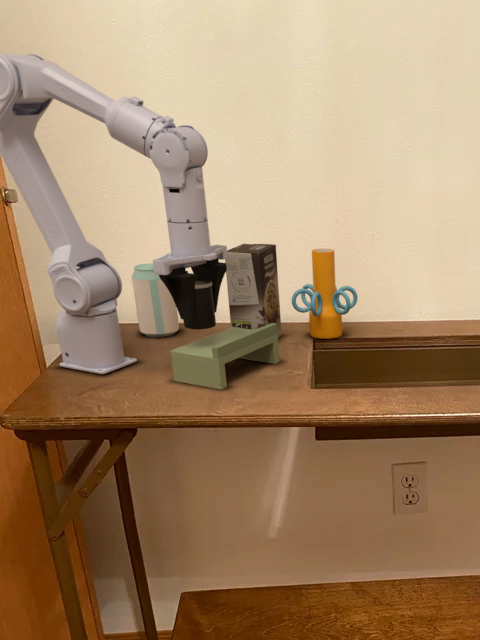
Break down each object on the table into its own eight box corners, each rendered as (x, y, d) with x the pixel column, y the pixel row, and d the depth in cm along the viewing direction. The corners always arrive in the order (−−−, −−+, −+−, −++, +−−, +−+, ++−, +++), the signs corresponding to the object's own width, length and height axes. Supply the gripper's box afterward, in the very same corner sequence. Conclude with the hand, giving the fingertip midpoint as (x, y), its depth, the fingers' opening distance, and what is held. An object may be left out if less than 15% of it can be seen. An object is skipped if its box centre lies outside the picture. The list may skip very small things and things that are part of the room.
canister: (176, 327, 121) (170, 283, 118) (197, 320, 125) (192, 277, 122) (202, 331, 119) (197, 286, 116) (223, 323, 123) (218, 280, 120)
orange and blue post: (350, 325, 154) (348, 244, 146) (365, 340, 145) (364, 253, 138) (288, 330, 150) (283, 247, 143) (299, 345, 142) (294, 257, 134)
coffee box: (266, 348, 139) (258, 252, 131) (231, 346, 140) (222, 250, 133) (283, 335, 147) (277, 243, 139) (250, 333, 148) (242, 241, 140)
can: (140, 329, 150) (130, 263, 144) (178, 327, 151) (170, 261, 146) (140, 339, 144) (129, 270, 138) (180, 336, 146) (171, 268, 140)
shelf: (174, 381, 124) (168, 340, 120) (235, 354, 136) (231, 317, 133) (221, 389, 120) (217, 347, 117) (279, 361, 133) (277, 323, 130)
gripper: (176, 229, 108) (188, 329, 114) (240, 216, 119) (248, 308, 126) (136, 225, 110) (150, 323, 117) (202, 213, 122) (212, 303, 128)
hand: (198, 315), depth 121 cm, fingers closed on canister, 5 cm apart
